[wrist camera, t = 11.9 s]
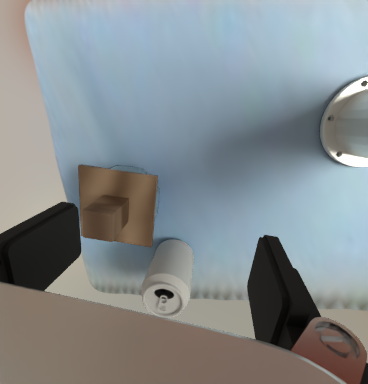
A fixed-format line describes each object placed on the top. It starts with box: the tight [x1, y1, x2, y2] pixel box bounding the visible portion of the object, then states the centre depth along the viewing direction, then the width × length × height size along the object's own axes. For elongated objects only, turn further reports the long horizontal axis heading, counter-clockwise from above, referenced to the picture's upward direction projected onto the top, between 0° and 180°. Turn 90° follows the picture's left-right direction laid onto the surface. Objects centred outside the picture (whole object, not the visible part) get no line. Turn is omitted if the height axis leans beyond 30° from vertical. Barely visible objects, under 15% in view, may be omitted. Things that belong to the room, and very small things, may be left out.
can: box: [141, 239, 194, 318], centre depth 36 cm, size 8×8×12 cm
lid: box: [78, 165, 158, 247], centre depth 31 cm, size 12×12×7 cm
